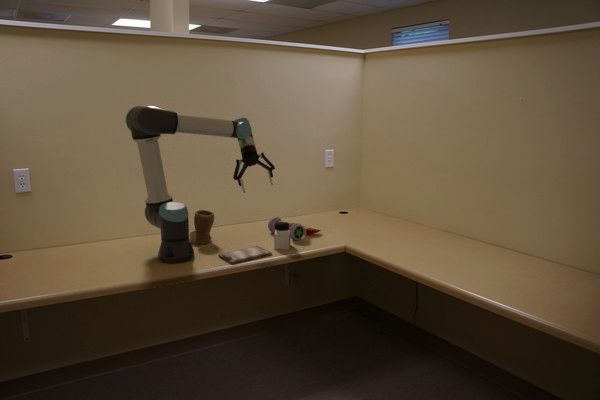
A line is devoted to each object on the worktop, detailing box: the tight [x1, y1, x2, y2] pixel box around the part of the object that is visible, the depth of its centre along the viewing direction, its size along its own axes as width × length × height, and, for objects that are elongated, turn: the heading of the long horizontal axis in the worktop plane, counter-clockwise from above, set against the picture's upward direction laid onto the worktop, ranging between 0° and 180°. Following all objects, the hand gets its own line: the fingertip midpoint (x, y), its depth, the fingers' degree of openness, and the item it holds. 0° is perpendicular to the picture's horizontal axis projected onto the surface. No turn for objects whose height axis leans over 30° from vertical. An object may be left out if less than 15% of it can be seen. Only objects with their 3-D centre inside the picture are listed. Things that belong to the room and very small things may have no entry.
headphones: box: [267, 216, 321, 241], centre depth 229 cm, size 20×10×20 cm
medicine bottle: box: [273, 220, 291, 250], centre depth 207 cm, size 7×7×12 cm
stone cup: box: [189, 209, 215, 244], centre depth 217 cm, size 15×12×15 cm
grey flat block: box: [217, 245, 273, 265], centre depth 197 cm, size 20×12×2 cm, turn 128°
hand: (257, 187), depth 210 cm, fingers open, 13 cm apart
